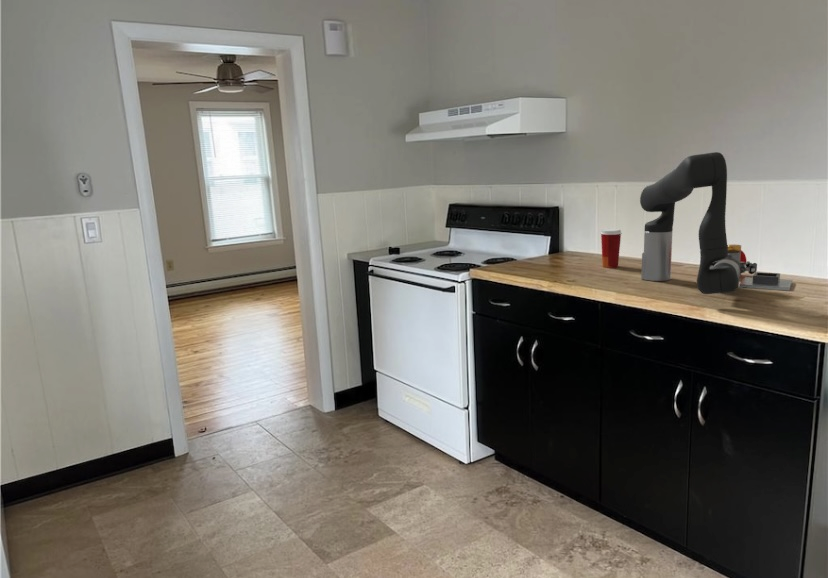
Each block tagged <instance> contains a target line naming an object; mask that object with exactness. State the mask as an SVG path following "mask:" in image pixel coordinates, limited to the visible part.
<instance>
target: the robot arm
mask: <svg viewBox="0 0 828 578" xmlns="http://www.w3.org/2000/svg"><path fill="white" fill-rule="evenodd" d="M727 170H728V168H727V163H726V158H725V156H724V154H722V153H721V152H718V151H717V152H715V151H714V152H707V153H699V154H693V155H690V156H687V157H685V158H684V159H683V160H682V161H681V162H680V163H679V164H678V166H677V167H676V168H675V169H673V170H672V171H671V172H668V174H665V176H663V177H662V178H661V179H659V180H658V181H656V182H655V183H652V184H649V185H646V186H645V187H644V188H643V190H642V191H641V193H640V196H639V197H640V198H639V202H640V203H639V204H640V206H641V208H642V210H644V211H645V212H648V213H661V214H660V215H659V216H658V217H657V218H655V219H653V220H650V221H648V222H646V223H645V224H644V234H643V235H644V236H643V241H644V242H643V252H642V253H641V277H640V278H641V280H645V281H652V282H653V281H654V282H665V281H670V280H671V278H672V276H671V275H672V272H671V271H672V252H673V251H672V249H673V229H674V228H673V226H674V220H675V219H674V217H675V208H676V207H675V206H676V203H677V202H681V201H683V200H684V199H686V198H688V197H689V196H690V195H691V194H692V193H693V191H694V189H699V188H706V187H707V188H709V187H711V199H710V203H709V206H708V208H707V210H706V212H705V213H704V216H703V218H702V219H701V222H700V224H699V229H698V243H699V253H700V254H699V255H700V257H699V258H700V261H699V268H698V273H697V277H696V287H697V289H698V291H699V292H700V294H703V295H712V294H713V295H714V294H729V293H733V292H735V291H736V290H738V289H737V287H738V278H739V279H740V276H741V274H745V273H746V272H747V273H748V274H749V275H754V274H755V272H758V271H757V270H758V263H756V262H754V263H752V262H751V261H749V260H748V261H747V262H738V261H737V260H735V259H733V258H726V257H727V256H728V247H727V245H728V239H727V231H726V230H727V229H726V228H727V227H726V212H727V211H726V210H727V209H726V208H727V191H728V189H727V187H728V186H727V185H728V171H727ZM713 262H714V263H713ZM740 264H741V265H740Z"/></svg>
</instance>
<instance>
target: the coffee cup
mask: <svg viewBox="0 0 828 578" xmlns="http://www.w3.org/2000/svg"><path fill="white" fill-rule="evenodd" d="M599 234H600V239H601V242H600V243H601V262H602V268H607V269H612V268H613V269H614V268H615V269H616V268H618V267H619V261H620V249H621V248H620V247H621V239H622V237H621V236H622V231H621V229H617V228H608V229H602V230H601V232H600V233H599Z"/></svg>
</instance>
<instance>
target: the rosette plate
mask: <svg viewBox="0 0 828 578" xmlns="http://www.w3.org/2000/svg"><path fill="white" fill-rule="evenodd" d="M792 285H793V279H783V278H781V273H779V272H777V273H776V272H760V271H759V272H758V271H756V272H755V273H754V274H752V277H750V276H749V277H746V276H745V277H744V278H743V279H742V280H741V282H739V288H743V287H747V288H746V289H759V290H773V291H776V290H777V291H790V289H791V288H792Z"/></svg>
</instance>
